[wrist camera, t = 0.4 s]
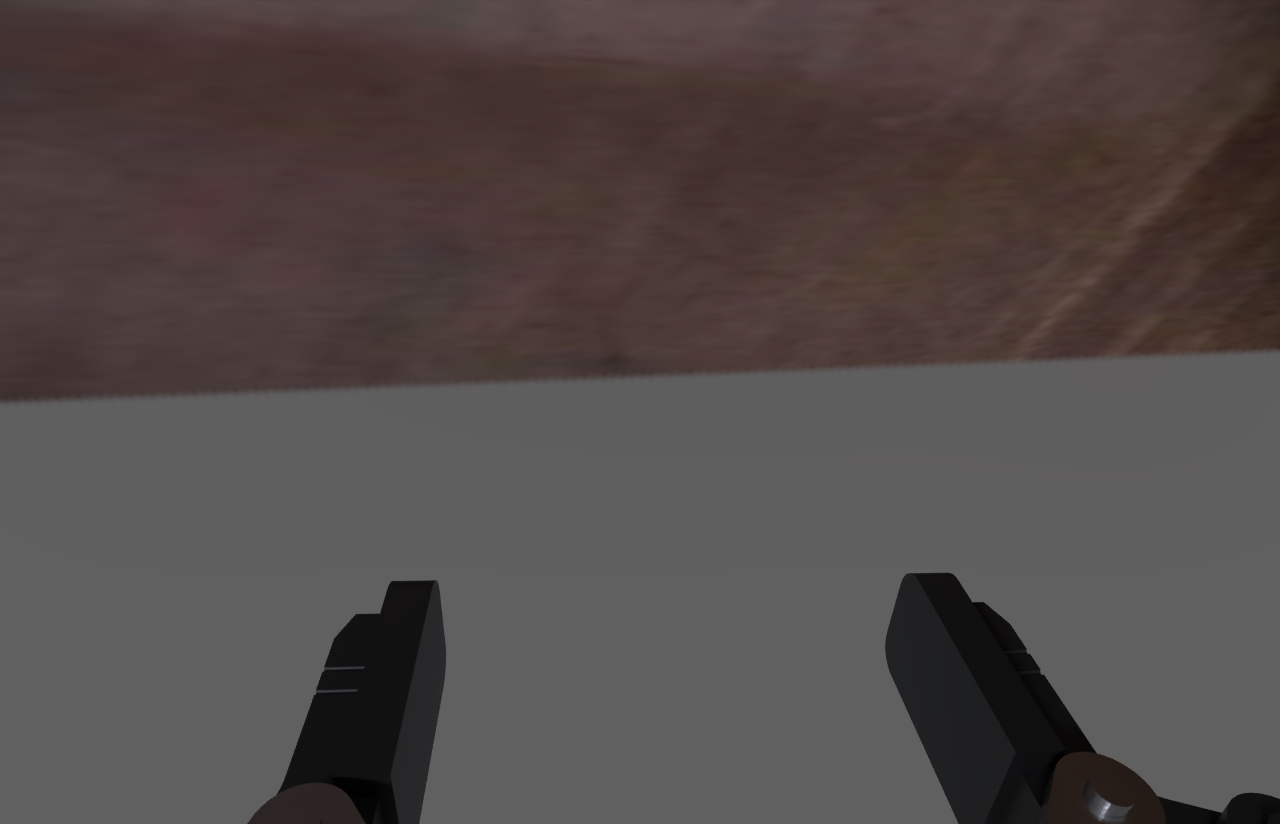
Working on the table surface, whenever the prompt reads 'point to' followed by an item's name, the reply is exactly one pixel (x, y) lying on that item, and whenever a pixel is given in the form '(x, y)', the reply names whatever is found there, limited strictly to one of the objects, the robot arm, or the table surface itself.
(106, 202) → the table surface
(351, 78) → the table surface
